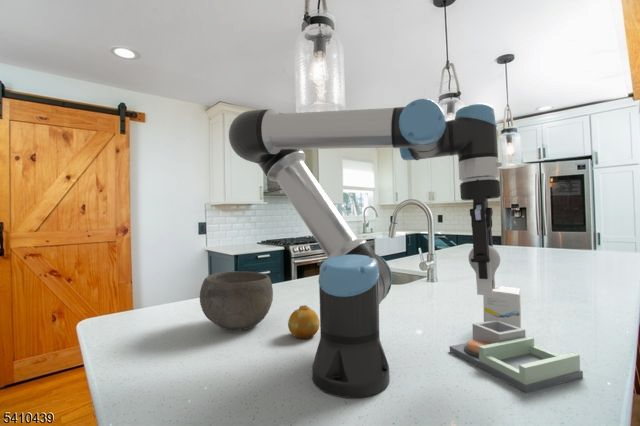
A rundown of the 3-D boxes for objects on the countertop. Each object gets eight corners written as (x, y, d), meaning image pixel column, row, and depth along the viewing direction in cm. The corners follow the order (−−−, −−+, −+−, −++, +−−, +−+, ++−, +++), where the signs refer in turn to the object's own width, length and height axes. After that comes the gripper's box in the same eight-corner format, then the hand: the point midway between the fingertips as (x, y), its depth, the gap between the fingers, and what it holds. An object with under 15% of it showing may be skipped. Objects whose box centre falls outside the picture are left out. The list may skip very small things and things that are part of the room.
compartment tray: (526, 392, 57) (525, 361, 57) (449, 351, 75) (449, 327, 75) (582, 377, 62) (582, 348, 62) (498, 341, 80) (498, 319, 80)
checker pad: (480, 356, 69) (480, 350, 69) (462, 347, 74) (462, 341, 74) (499, 352, 70) (498, 346, 70) (479, 343, 75) (479, 338, 75)
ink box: (521, 341, 81) (520, 293, 81) (483, 334, 85) (482, 290, 85) (521, 330, 88) (520, 287, 88) (486, 325, 93) (485, 284, 93)
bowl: (287, 324, 96) (286, 273, 96) (224, 345, 81) (224, 285, 81) (247, 311, 110) (246, 267, 111) (187, 327, 95) (186, 276, 95)
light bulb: (490, 297, 64) (486, 246, 64) (464, 292, 69) (461, 245, 69) (509, 292, 66) (505, 243, 66) (483, 288, 72) (479, 242, 72)
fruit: (308, 318, 94) (299, 298, 91) (329, 327, 88) (319, 306, 85) (289, 339, 89) (278, 318, 86) (309, 350, 83) (298, 328, 80)
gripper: (496, 174, 58) (505, 303, 58) (502, 181, 74) (509, 283, 73) (451, 179, 62) (459, 300, 62) (466, 185, 78) (472, 281, 77)
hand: (486, 291), depth 68 cm, fingers closed on light bulb, 6 cm apart
